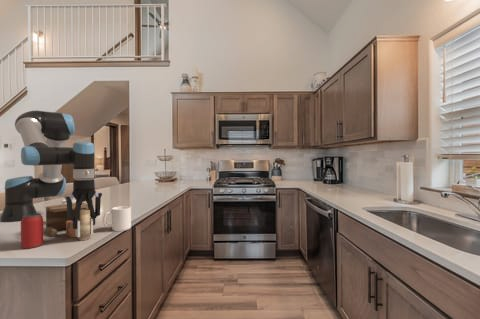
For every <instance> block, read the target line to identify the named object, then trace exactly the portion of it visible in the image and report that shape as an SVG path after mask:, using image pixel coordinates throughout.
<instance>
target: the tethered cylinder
mask: <svg viewBox="0 0 480 319" xmlns="http://www.w3.org/2000/svg"><path fill="white" fill-rule="evenodd" d="M90 218H91V217H90V209H82V210H80V213H79V217H78V220H79V221H80V237H76V229H73V221H66V229H65V230H66V231H65V235H66V236H67V237H69V238H75V237H76V238H78V241H86V240H87V241H88V240H90V239H91V234H90Z"/></svg>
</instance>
